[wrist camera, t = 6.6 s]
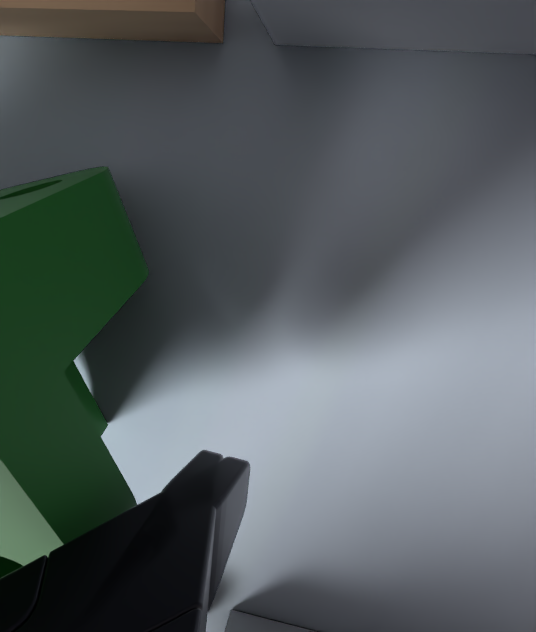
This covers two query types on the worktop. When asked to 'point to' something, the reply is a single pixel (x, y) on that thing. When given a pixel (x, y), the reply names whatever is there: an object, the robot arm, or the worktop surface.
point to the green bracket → (58, 358)
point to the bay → (115, 19)
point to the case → (402, 34)
